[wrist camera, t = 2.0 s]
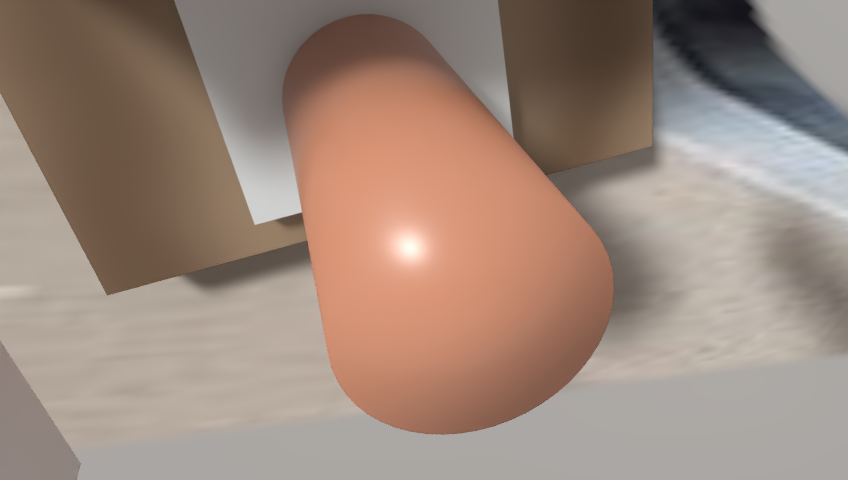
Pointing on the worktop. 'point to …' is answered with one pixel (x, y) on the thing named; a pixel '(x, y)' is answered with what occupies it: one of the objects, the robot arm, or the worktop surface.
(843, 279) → the worktop surface
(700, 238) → the worktop surface
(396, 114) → the white plank with peg
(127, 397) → the worktop surface
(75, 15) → the tunnel deck
